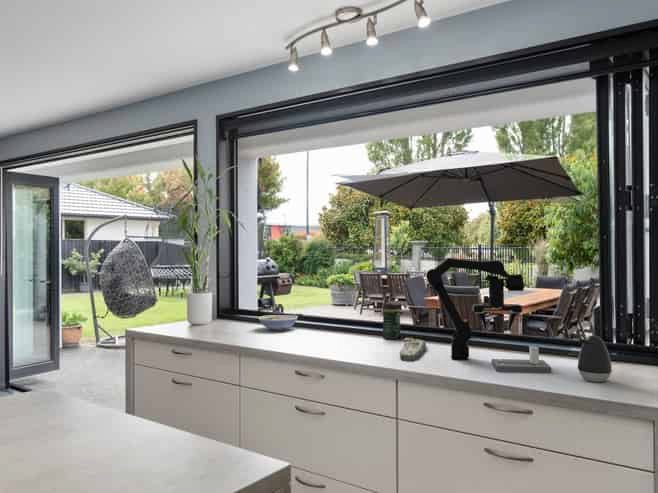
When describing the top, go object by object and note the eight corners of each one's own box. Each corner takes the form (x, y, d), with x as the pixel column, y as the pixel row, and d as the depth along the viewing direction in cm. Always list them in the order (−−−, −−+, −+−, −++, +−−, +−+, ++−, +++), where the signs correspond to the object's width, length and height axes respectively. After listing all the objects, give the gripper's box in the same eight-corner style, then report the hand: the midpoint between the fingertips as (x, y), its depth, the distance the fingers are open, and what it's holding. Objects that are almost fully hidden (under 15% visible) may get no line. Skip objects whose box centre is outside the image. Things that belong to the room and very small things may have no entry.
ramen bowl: (251, 332, 280) (250, 318, 280) (263, 326, 302) (263, 312, 302) (295, 333, 275) (294, 318, 276) (303, 327, 298) (303, 313, 298)
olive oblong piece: (394, 364, 205) (419, 366, 202) (394, 351, 205) (419, 353, 202) (407, 343, 239) (428, 345, 236) (407, 332, 238) (428, 334, 235)
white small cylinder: (531, 363, 186) (531, 348, 186) (529, 361, 190) (529, 346, 190) (539, 363, 185) (538, 348, 185) (536, 361, 189) (536, 346, 189)
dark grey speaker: (571, 377, 174) (570, 333, 175) (599, 376, 175) (598, 332, 176) (588, 385, 164) (587, 338, 164) (618, 383, 165) (618, 337, 165)
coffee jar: (394, 340, 250) (393, 302, 250) (380, 338, 255) (379, 302, 255) (403, 337, 258) (402, 301, 258) (390, 335, 263) (389, 300, 263)
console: (496, 371, 184) (496, 365, 184) (491, 364, 196) (491, 358, 196) (551, 372, 181) (551, 366, 181) (543, 365, 193) (543, 359, 193)
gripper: (516, 289, 211) (517, 326, 211) (470, 289, 214) (471, 326, 214) (522, 291, 200) (522, 331, 200) (473, 291, 203) (474, 330, 203)
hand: (497, 329), depth 204 cm, fingers open, 9 cm apart
